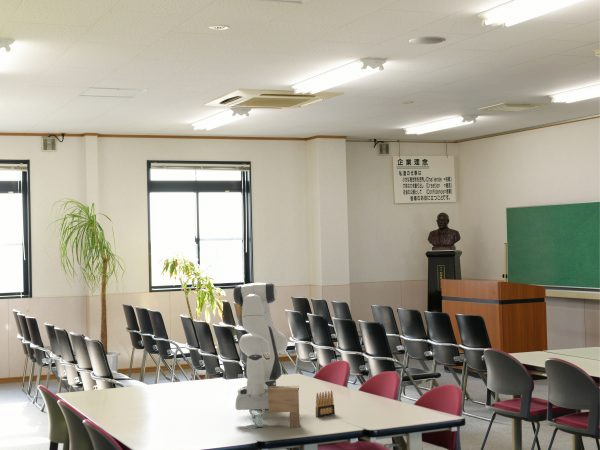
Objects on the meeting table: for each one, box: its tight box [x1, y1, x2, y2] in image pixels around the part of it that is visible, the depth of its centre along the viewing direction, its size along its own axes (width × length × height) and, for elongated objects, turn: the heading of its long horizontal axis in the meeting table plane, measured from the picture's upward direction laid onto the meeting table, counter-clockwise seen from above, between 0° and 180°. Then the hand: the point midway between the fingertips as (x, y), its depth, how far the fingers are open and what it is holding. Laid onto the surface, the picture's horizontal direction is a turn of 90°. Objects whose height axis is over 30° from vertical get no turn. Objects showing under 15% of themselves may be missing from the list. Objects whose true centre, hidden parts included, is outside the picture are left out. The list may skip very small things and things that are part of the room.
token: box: [246, 424, 259, 429], centre depth 417 cm, size 5×5×1 cm
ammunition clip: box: [315, 390, 336, 419], centre depth 440 cm, size 11×2×12 cm, turn 127°
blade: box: [252, 410, 263, 428], centre depth 426 cm, size 22×2×4 cm, turn 10°
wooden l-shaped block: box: [268, 385, 301, 428], centre depth 419 cm, size 7×15×18 cm, turn 91°
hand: (257, 418), depth 427 cm, fingers closed on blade, 2 cm apart
